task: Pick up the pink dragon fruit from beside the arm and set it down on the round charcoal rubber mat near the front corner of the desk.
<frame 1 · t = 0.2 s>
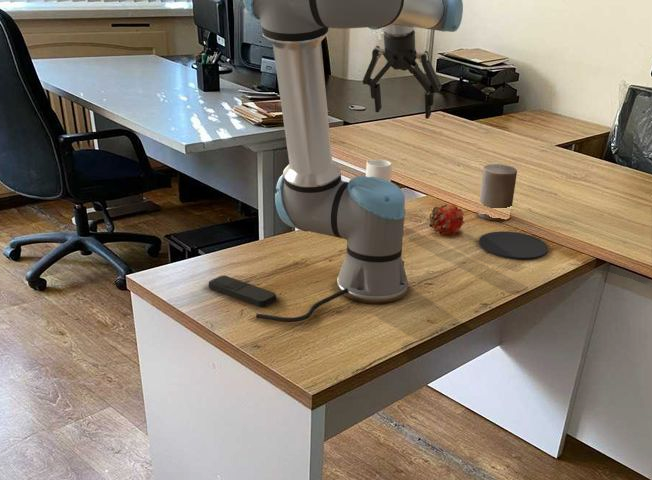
hand: (403, 113, 182), 27 cm above the table, tool tilted 20°, fingers open, 13 cm apart
mat: (513, 246, 182), on the table
remote control: (242, 294, 145), on the table
dragon fruit: (446, 233, 186), on the table
pillar candle: (493, 216, 201), on the table
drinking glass: (376, 217, 192), on the table
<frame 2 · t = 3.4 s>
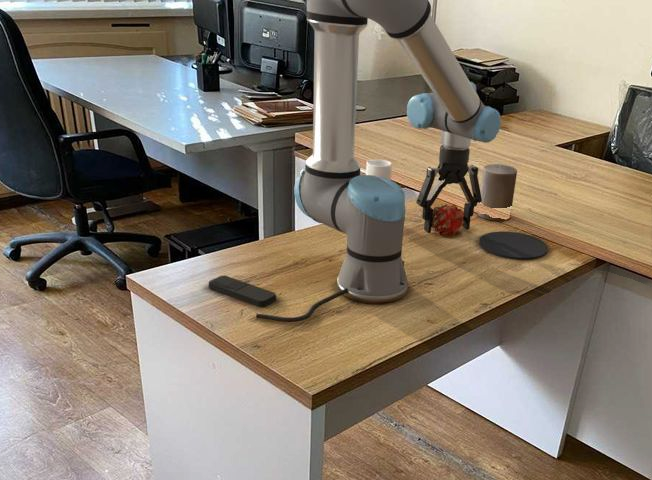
hand: (446, 229, 186), 1 cm above the table, tool pointing down, fingers closed on dragon fruit, 11 cm apart
dragon fruit: (446, 233, 186), on the table, touching gripper
everything else where it was.
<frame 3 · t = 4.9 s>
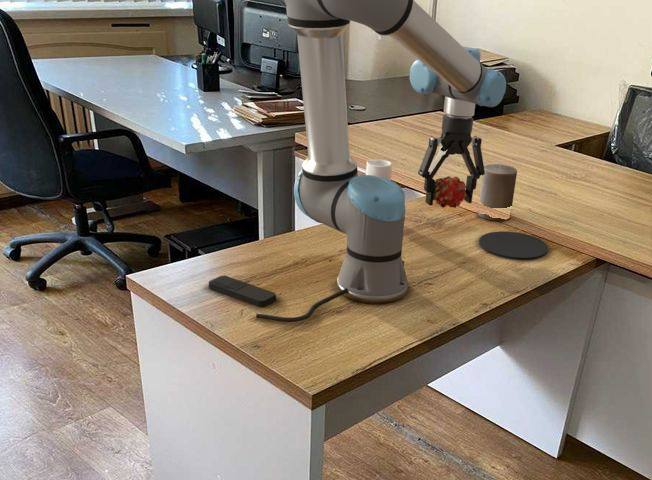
hand: (448, 202, 182), 8 cm above the table, tool pointing down, fingers closed on dragon fruit, 11 cm apart
dragon fruit: (448, 206, 182), point 7 cm above the table, touching gripper
everything else where it was.
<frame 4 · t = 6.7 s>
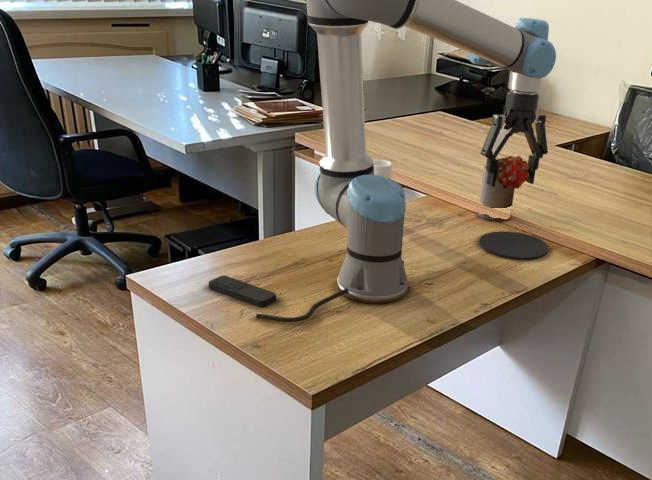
hand: (510, 183, 175), 16 cm above the table, tool pointing down, fingers closed on dragon fruit, 11 cm apart
dragon fruit: (509, 187, 175), point 15 cm above the table, touching gripper
everything else where it was.
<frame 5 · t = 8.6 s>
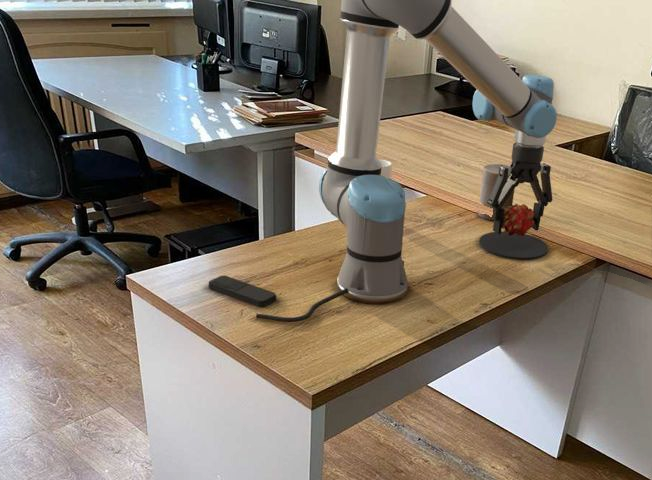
hand: (515, 230, 180), 4 cm above the table, tool pointing down, fingers closed on dragon fruit, 11 cm apart
dragon fruit: (515, 233, 180), point 3 cm above the table, touching gripper
everything else where it was.
when the fingers open (1 cm above the table, at t = 10.1 s): dragon fruit stays where it is, resting on mat.
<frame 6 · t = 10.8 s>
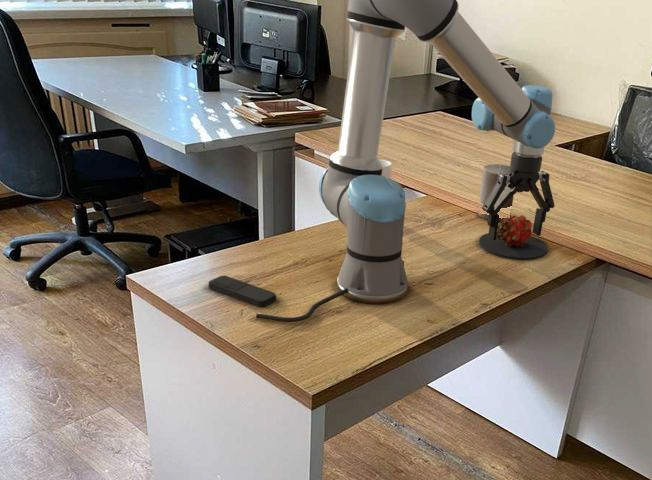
hand: (514, 236, 180), 3 cm above the table, tool pointing down, fingers open, 13 cm apart
dragon fruit: (513, 244, 182), resting on mat
everything else where it was.
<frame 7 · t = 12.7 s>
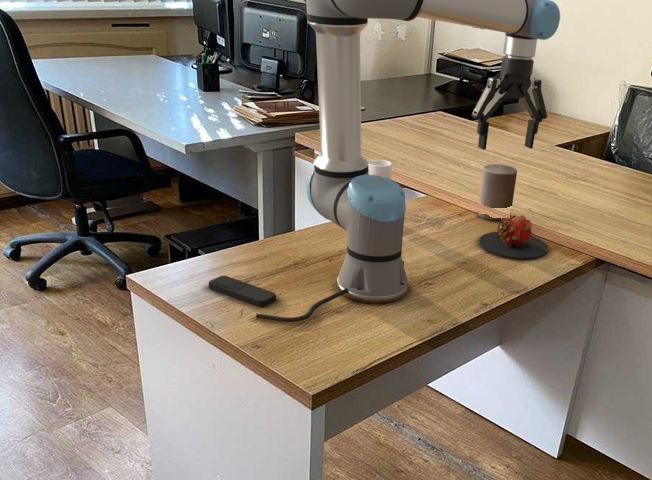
hand: (505, 147, 175), 24 cm above the table, tool pointing down, fingers open, 13 cm apart
nothing on the table moved.
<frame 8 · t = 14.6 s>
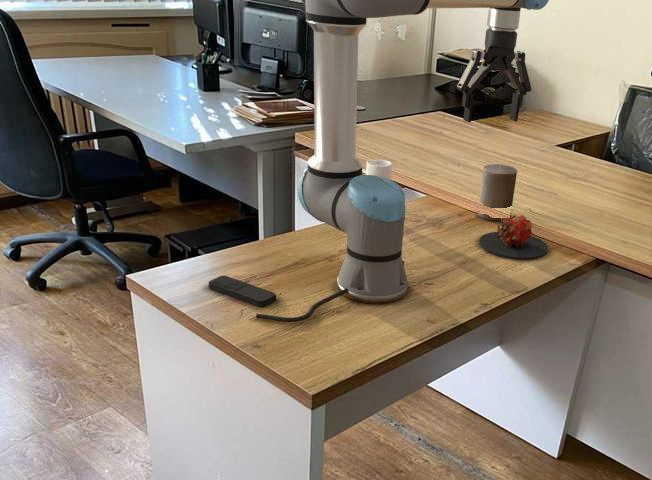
hand: (490, 120, 177), 29 cm above the table, tool pointing down, fingers open, 13 cm apart
nothing on the table moved.
at the end: dragon fruit inside the target area on the mat (0.1 cm from its centre), point 0.4 cm above the mat's base; dragon fruit touching mat; the gripper is holding nothing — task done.
